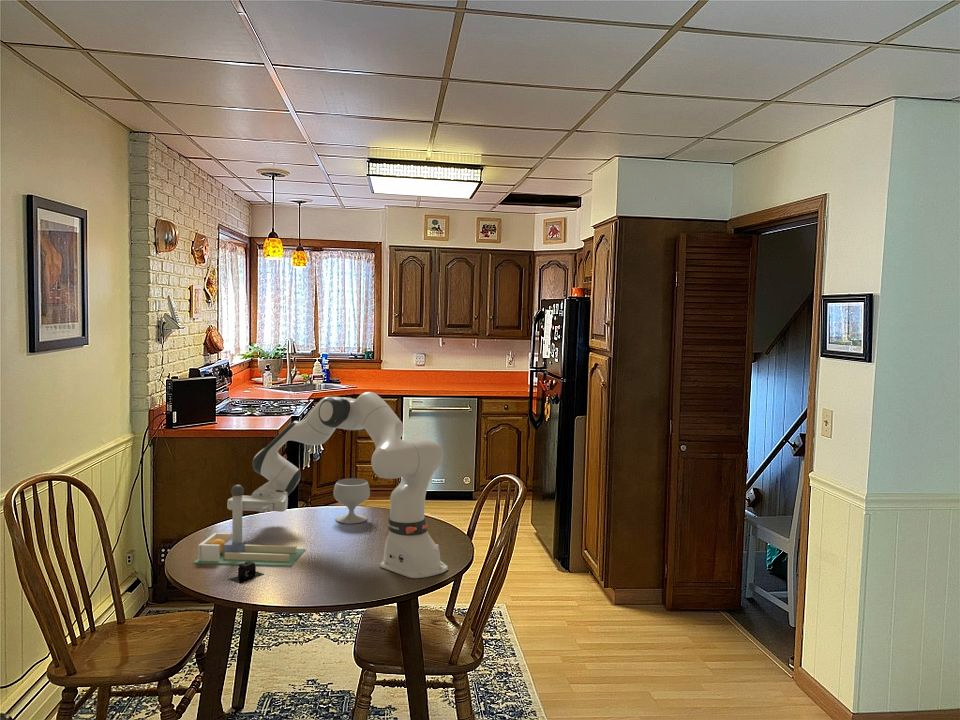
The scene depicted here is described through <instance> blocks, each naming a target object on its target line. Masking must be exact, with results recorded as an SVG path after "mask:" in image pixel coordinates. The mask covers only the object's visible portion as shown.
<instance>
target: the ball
mask: <svg viewBox="0 0 960 720" xmlns="http://www.w3.org/2000/svg"><path fill="white" fill-rule="evenodd" d="M211 544H214V545H220V554H221V553H223V552H224V544H225V541H224V540H222V539H215V540H213V541H212V542H211Z"/></svg>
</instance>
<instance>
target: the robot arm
mask: <svg viewBox="0 0 960 720" xmlns="http://www.w3.org/2000/svg"><path fill="white" fill-rule="evenodd" d="M337 429H340V430H341V429H342V430H347V431H361V432H363V431H366V432H367V434H368V435H369V437H370V439H371V440H372V442H373V443H374V447H375V450H374V451H373V453H372V455H371V460H370V463H371V468H372V471H373V472H374V474H375V475H376V476H377V477H378V478H379V479H380V478H381V479H390V480H391V479H393V480H394V479H399V478H401V481H400V482H399V484H398V485H397V486H396V487H395V488H394V489H393V490H392V492H391V494H390V497H389V517H388V522H387V530H388V535H387V537H386V539H385V540H384V541H385V542H384V548H383V550H384V552H383V559H382V561H380V567H381V568H382V569H384V570H388V571H389V572H390V571H391V572H394V573H395V574H399V575H401V576H405V577H407V578H411V579H420V578H428V577H432V576H436V575H440V574H443V573H444V572H446V571H447V570H449V568H448V565H447V564H446V563H444V562H443V561H441V553H440V545H439V544H437V543H436V542H435V541H434V540H433V538H432V537H431V535H430V534H429V532H428V530H429V524H427V520H426V517H425V509H426V508H425V507H426V495H427V490H428V487H429V485H430V482H431V480H432V478H433V475H434V474H435V473H436V471H437V470H438V469H439V468H440V467H441V465H442V464H443V460H444V452H443V449H442V447H441V445H440V443H438V442H437V441H435V440H431V439H416V440H407V441H406V440H403V439H402V436H403V434H404V423H403V422H402V421H401V419H400V417H398V415H397V413H395V412H394V410H393V409H392V407H391V406H390V405H389V404H388V403H387V402H386V401H385V400H384V399H383V398H382V397H381V396H379V395H378V394H377V393H376V392H373V391H366V392H363V393H361V394H359V396H357V398H352V397H344V396H343V397H341V396H325V397H323V398H321V399H320V400H319V402H317V403H316V404H315V405H314V407H312V409H311V410H310V412H308V414H307V415H306V416H305V418H304V419H302V420H294V421H291V423H289V424H288V425H287V426H286V427H284V429H282V430H281V431H280V433H279V434H278V435H277V436H276V437H275V438H273V439H272V440H271V442H269V443H268V444H267V445H266V446H265V447H264V448H262V449H261V450H259V451H258V453H256V454H255V456H254V457H253V459H252V461H251V463H252V468H253V471H254V472H255V473H257V474H259V475H260V476H263V477H264V478H265V479H266V480H267V482H266V483H264V484H263V485H261V486H259V487H258V488H257V489H255V490H254V491H253V492H252V494H251V495H244V494H243V495H242V511H249V512H250V511H252V512H253V511H254V512H258V513H261V514H262V513H268V512H280V513H281V512H285V511H287V509H288V505H289V502H288V501H289V497H288V496H289V495H290V494H291V493H292V492H293V491H294V490H295V489H296V488H297V487H298V485H299V484H300V482H301V479H302V478H301V477H302V476H301V475H302V474H301V469H299V467H297V466H296V465H294V463H292V462H290V461H289V460H287V459H286V458H285V457H283V456H282V455H281V454H280V453H279V450H280V449H281V448H282V447H283V446H284V445H285V444H286V443H287V442H288V441H289V442H290V441H293V442H297V443H302V444H304V445H308V446H321V445H323V444H325V443H326V442H327V441H328V440H329V439H330V437H332V435H333V433H334V432H335V431H336V430H337ZM226 505H227V509H228V510H229V511H233V496H232V497H230V498H228V499H227V504H226Z"/></svg>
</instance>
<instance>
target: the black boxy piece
mask: <svg viewBox="0 0 960 720" xmlns="http://www.w3.org/2000/svg"><path fill="white" fill-rule="evenodd" d="M256 567H257V566H255V563H253V562H250V561H247V562H245V563H242V564H239V565H238V568H237V576H234V577H231V578H228V579H227V581H231V582H234V583H236V584H243V583H246V582H248V581H251V580H254V579H257V578H259V577H262V576H264V574H265V573H263V574H262V572H260V573H259V571H257V572H256V570H257V568H256Z"/></svg>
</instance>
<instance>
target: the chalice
mask: <svg viewBox="0 0 960 720" xmlns="http://www.w3.org/2000/svg"><path fill="white" fill-rule="evenodd" d="M333 487H334V488H333V491H332V492H333V493H332V494H333V497H334V499H335V500H336V502H338V503H340V504H341V505H344V506H346V508H347V509H348V514H344V515H339V516H337V517H336V518H335V521H336V522H338V523H341V524H352V525H353V524H360V523H364V522H366V521H367V520H368V517H367V516H365V515H363V514H356V513H355V509H356V507H357V506H360V505H361V504H362V503H364V502H366V501H367V500H368V499H369V498H370V495H371V490H370V485H369V482H368V481H367V480H366V479H363V478H356V477H355V478H351V477H350V478H341V479H339V480H337V481H336V483H335V484H334V486H333Z"/></svg>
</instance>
